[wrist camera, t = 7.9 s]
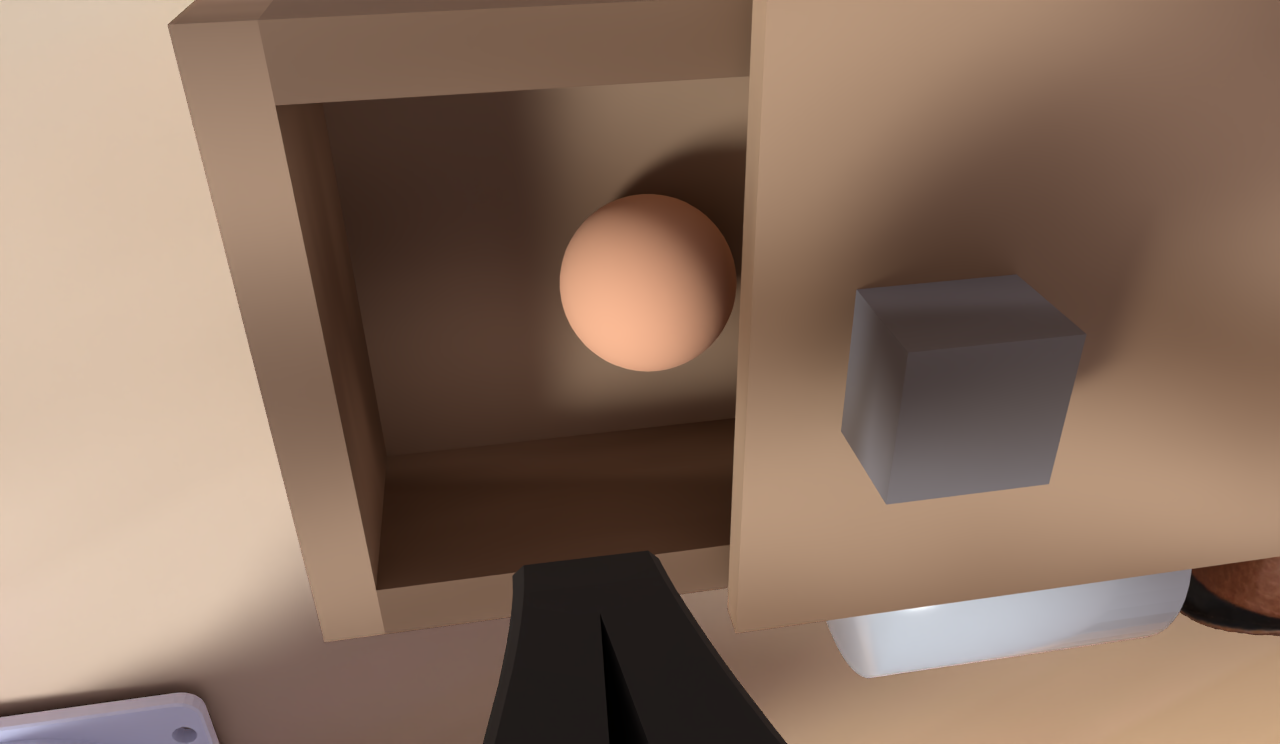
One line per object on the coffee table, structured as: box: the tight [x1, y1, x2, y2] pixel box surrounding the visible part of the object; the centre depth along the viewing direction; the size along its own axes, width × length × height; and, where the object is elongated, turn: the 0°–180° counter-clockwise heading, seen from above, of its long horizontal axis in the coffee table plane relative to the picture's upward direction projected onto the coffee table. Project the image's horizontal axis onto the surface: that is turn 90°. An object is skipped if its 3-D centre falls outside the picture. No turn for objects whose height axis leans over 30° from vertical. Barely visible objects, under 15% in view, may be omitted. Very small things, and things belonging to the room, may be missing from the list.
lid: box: [727, 0, 1280, 634], centre depth 14 cm, size 10×10×2 cm
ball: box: [560, 194, 737, 372], centre depth 17 cm, size 3×3×3 cm
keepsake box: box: [168, 0, 753, 642], centre depth 16 cm, size 10×10×4 cm
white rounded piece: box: [826, 569, 1192, 678], centre depth 21 cm, size 6×5×5 cm
